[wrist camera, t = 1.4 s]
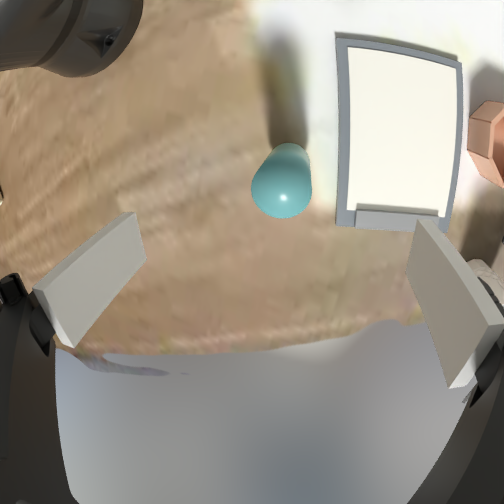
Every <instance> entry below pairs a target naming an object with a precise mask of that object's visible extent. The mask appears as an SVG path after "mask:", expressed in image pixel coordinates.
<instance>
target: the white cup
mask: <svg viewBox="0 0 504 504" xmlns="http://www.w3.org/2000/svg"><path fill="white" fill-rule="evenodd" d="M466 263H467V264H468V265H469V267H470V268H471V269H472V271H473V272H474V273H475V275H476V276H477V277H480V278H481V279H482V280H483V281H485V282H486V283H487V284H488V285H489V286H490V288H491V289H492V291H493V292H494V295H495V296H496V297H497V298H498V300H499V303H501V304H502V306H503V307H504V281H503V280H502V279H501V278H500V277H499V276H498V275H497V274H496V273H495V272H494V271H493V270H492V269H491V268H490V267H489V266H488V265H487V264H486V263H485V262H484V261H483V260H481V259H473V260H470V261H468V262H466Z"/></svg>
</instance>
